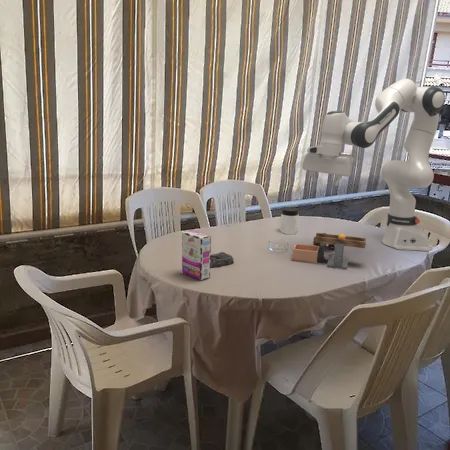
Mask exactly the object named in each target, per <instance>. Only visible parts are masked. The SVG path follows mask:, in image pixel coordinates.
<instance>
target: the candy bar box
mask: <svg viewBox="0 0 450 450" xmlns="http://www.w3.org/2000/svg"><path fill="white" fill-rule="evenodd" d="M181 234H182V236H181V242H182V243H181V247H182V248H181V253H182V255H181V257H182V258H181V265H182V266H181V268H182V269H181V273H182V272H183V273H182V274H184V273H185V274H184V275H186V274H187V275H186V276H188V275H190V276H189V277H191V276H192V277H191V278H193V277H194V279H196V278H197V279H196V280H198V279H199V280H198V281H200V280H202V281H205V280H208V279H210V278H211V268H210V255H212V254H211V252H212V251H211V250H212V249H211V245H212V240H211V239H212V236H211V235H208V234H205V233H201V232H199V231H196V230H191V229H190V230H185V231H182V232H181ZM207 278H208V279H207ZM204 279H205V280H204Z"/></svg>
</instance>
